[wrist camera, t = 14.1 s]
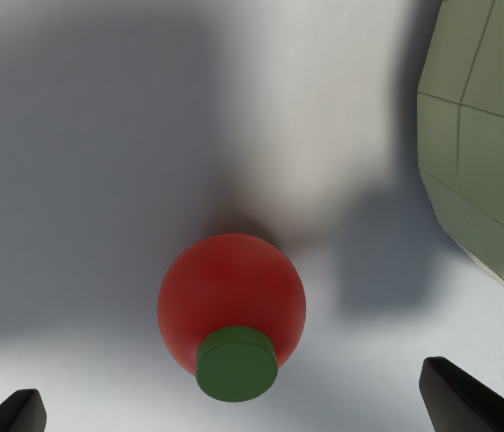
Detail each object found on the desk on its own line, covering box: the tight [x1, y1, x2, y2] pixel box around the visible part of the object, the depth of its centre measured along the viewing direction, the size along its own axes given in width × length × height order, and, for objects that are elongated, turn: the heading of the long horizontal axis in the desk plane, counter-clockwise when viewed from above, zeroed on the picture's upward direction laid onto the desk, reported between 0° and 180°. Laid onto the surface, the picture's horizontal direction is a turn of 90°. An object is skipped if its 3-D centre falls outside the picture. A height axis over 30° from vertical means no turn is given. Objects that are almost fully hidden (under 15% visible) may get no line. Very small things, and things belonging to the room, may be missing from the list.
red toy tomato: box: [157, 233, 306, 402], centre depth 12 cm, size 4×4×5 cm
